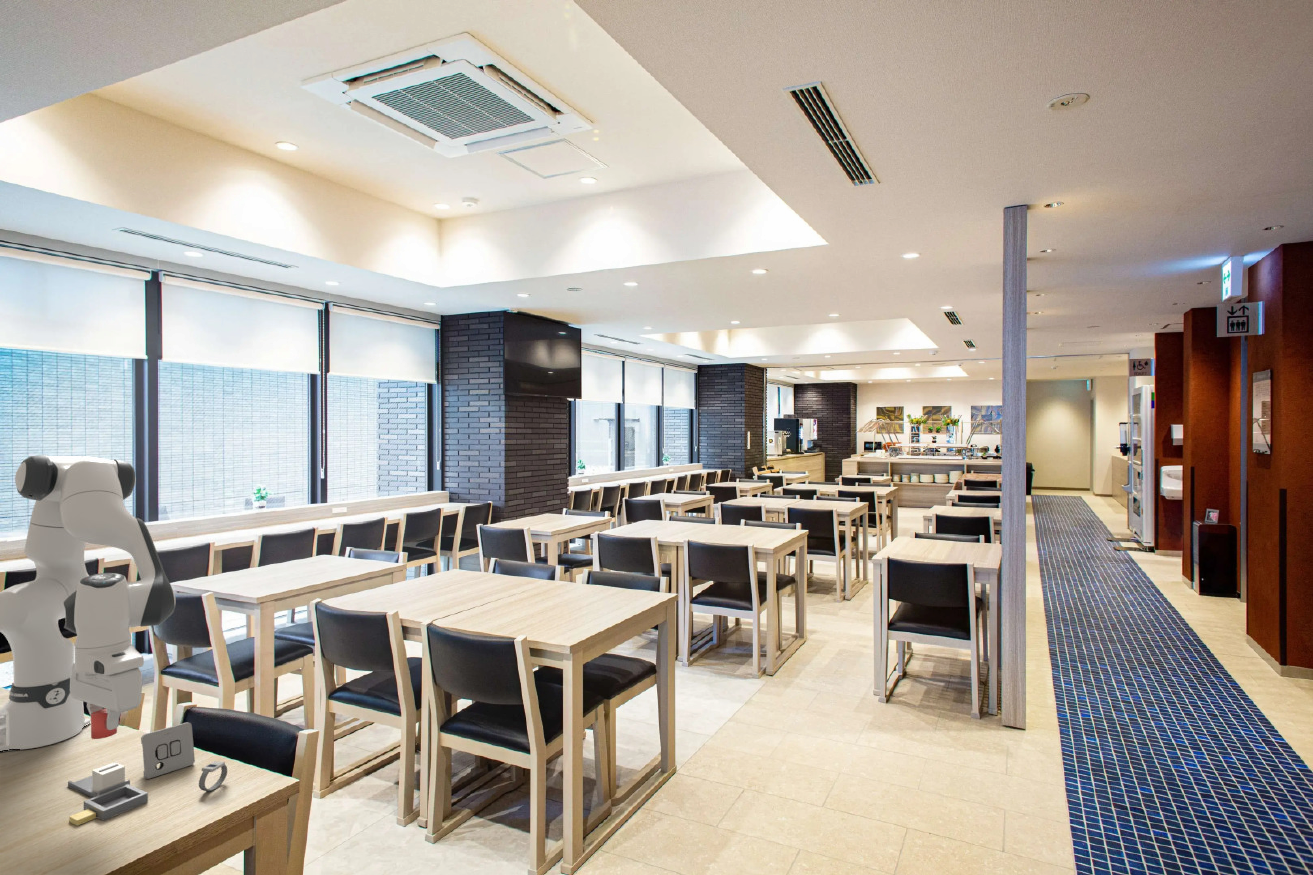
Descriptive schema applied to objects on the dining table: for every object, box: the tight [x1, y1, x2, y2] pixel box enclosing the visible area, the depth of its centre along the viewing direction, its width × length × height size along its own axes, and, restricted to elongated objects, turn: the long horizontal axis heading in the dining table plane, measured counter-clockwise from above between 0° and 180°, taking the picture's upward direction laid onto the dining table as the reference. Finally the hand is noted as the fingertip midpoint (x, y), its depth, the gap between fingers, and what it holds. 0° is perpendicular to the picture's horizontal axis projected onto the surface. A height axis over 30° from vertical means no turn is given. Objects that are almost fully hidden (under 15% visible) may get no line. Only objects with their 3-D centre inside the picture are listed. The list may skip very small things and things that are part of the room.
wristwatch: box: [198, 760, 228, 792], centre depth 142 cm, size 6×3×5 cm, turn 170°
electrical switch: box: [140, 722, 196, 780], centre depth 151 cm, size 9×5×9 cm, turn 141°
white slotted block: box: [91, 762, 126, 794], centre depth 141 cm, size 4×4×5 cm
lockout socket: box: [68, 784, 149, 826], centre depth 134 cm, size 8×11×2 cm
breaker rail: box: [67, 775, 131, 799], centre depth 142 cm, size 13×5×2 cm, turn 63°
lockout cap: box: [90, 708, 118, 740], centre depth 135 cm, size 4×4×4 cm
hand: (104, 725), depth 135 cm, fingers closed on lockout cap, 4 cm apart
